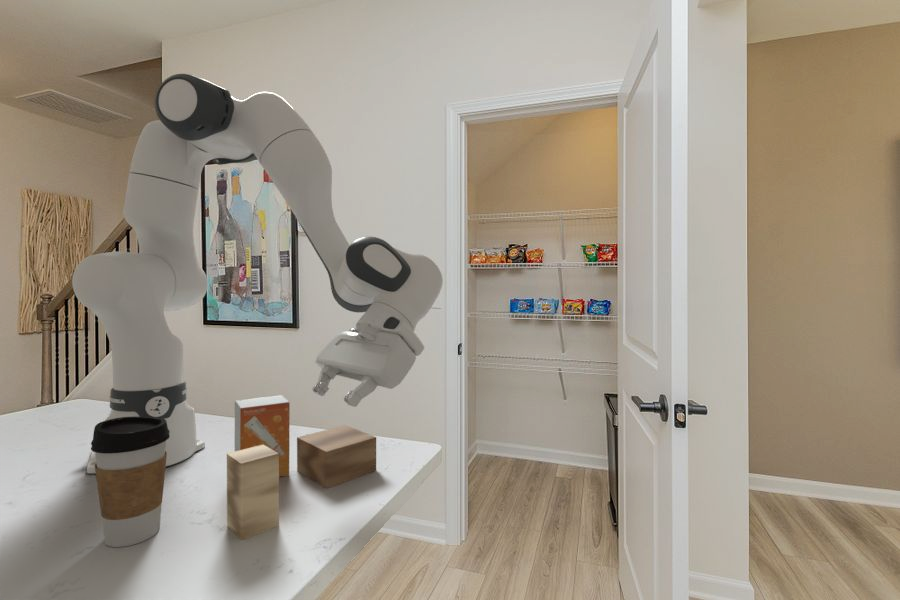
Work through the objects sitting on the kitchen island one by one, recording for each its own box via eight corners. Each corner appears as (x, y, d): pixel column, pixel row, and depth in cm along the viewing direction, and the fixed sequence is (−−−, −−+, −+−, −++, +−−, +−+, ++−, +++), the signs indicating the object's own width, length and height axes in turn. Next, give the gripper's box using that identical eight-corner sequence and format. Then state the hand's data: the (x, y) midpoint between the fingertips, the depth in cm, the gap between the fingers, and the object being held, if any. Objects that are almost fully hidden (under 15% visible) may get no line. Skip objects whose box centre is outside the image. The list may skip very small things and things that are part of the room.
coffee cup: (120, 519, 62) (118, 413, 62) (183, 517, 63) (182, 412, 62) (74, 555, 54) (72, 432, 53) (147, 551, 54) (146, 431, 54)
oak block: (227, 525, 61) (226, 453, 60) (263, 512, 64) (263, 444, 64) (241, 540, 57) (241, 463, 57) (279, 525, 61) (278, 453, 61)
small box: (239, 486, 73) (239, 407, 72) (234, 473, 78) (233, 399, 78) (290, 475, 77) (290, 401, 77) (282, 463, 82) (281, 394, 82)
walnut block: (297, 470, 79) (297, 437, 79) (345, 455, 86) (345, 425, 86) (326, 488, 72) (326, 451, 72) (376, 470, 79) (376, 437, 79)
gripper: (338, 317, 82) (287, 377, 75) (410, 323, 67) (356, 397, 61) (358, 339, 85) (312, 398, 78) (432, 349, 71) (383, 423, 64)
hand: (332, 398), depth 69 cm, fingers open, 8 cm apart
